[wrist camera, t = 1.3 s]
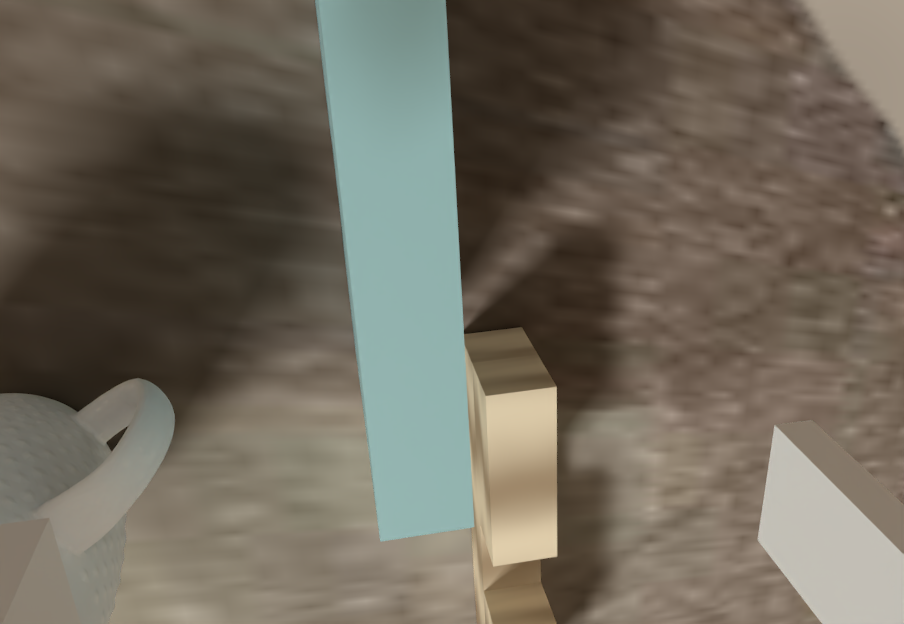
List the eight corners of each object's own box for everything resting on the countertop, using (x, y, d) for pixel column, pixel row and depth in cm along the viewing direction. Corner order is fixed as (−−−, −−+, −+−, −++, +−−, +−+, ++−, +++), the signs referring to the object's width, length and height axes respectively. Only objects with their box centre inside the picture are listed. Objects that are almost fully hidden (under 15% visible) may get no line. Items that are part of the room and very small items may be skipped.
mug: (93, 248, 34) (-18, 401, 23) (267, 419, 39) (250, 621, 27) (-162, 448, 36) (-390, 688, 24) (33, 589, 41) (-79, 850, 29)
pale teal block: (312, -22, 32) (317, -7, 19) (389, -27, 32) (445, -15, 19) (355, 347, 38) (380, 541, 26) (418, 339, 39) (474, 527, 26)
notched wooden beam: (460, 334, 39) (485, 396, 33) (521, 327, 39) (556, 386, 34) (479, 672, 48) (501, 764, 42) (529, 663, 48) (557, 753, 43)
